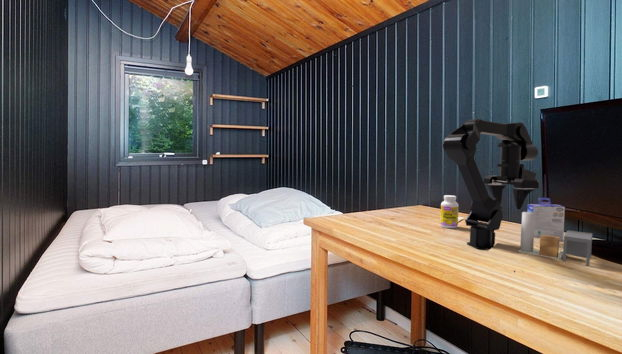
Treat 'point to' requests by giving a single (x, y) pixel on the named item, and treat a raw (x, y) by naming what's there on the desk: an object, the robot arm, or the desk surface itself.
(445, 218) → the supplement bottle
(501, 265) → the desk surface
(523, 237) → the silver l-shaped stand
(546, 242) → the block
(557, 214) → the ink cartridge box
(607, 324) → the desk surface
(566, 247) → the tunnel
